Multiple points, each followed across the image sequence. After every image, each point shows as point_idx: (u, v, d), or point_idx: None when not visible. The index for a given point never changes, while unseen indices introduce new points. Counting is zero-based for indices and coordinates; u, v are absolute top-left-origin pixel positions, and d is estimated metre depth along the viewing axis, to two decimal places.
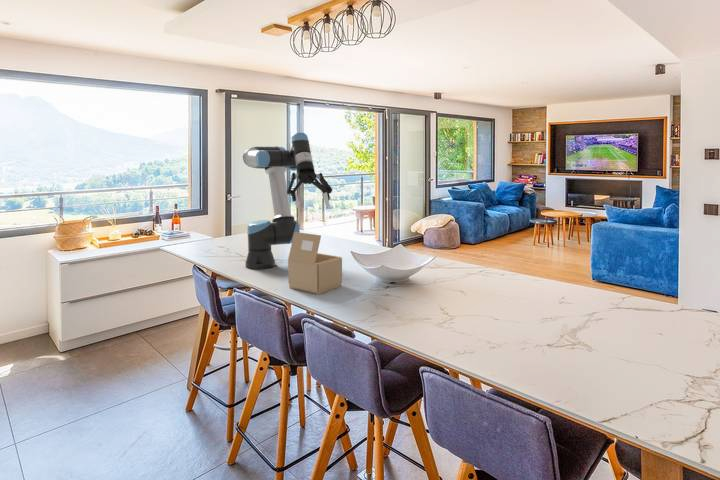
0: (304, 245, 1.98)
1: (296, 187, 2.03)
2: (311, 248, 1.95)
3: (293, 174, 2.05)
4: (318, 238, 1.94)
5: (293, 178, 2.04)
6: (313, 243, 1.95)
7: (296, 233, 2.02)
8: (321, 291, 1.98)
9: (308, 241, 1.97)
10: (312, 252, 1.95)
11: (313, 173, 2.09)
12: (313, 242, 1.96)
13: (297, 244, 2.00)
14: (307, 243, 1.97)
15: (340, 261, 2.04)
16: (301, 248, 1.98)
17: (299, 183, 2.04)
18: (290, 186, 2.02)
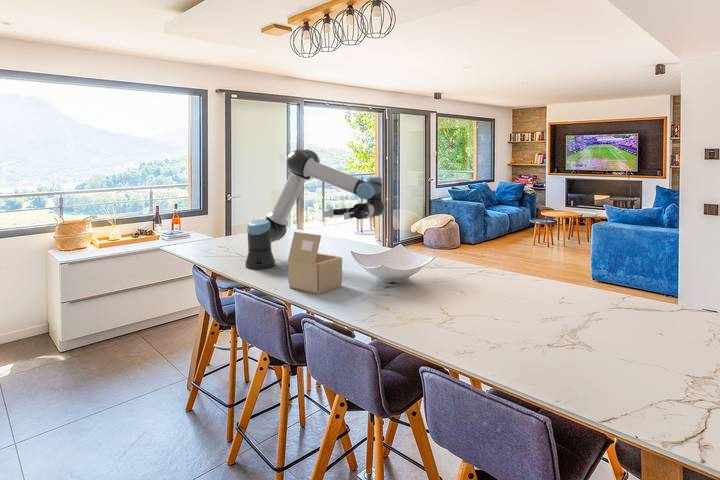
0: (304, 245, 1.98)
1: None
2: (311, 248, 1.95)
3: (366, 215, 2.20)
4: (318, 238, 1.94)
5: (363, 216, 2.19)
6: (313, 243, 1.95)
7: (296, 233, 2.02)
8: (321, 291, 1.98)
9: (308, 241, 1.97)
10: (312, 252, 1.95)
11: None
12: (313, 242, 1.96)
13: (297, 244, 2.00)
14: (307, 243, 1.97)
15: (340, 261, 2.04)
16: (301, 248, 1.98)
17: None
18: None
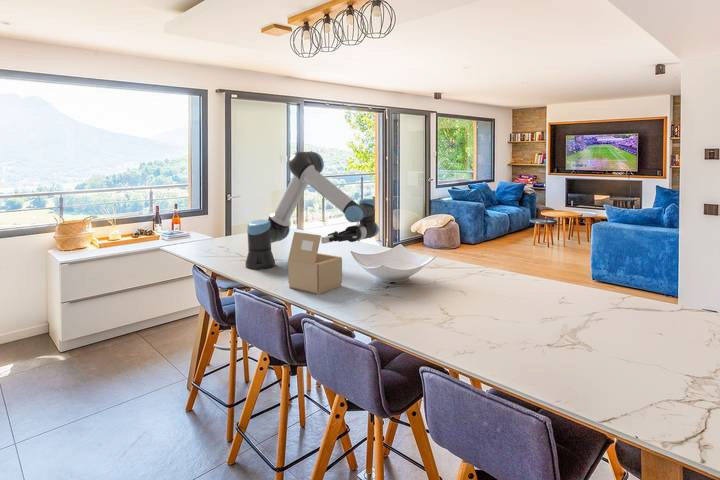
0: (304, 245, 1.98)
1: None
2: (311, 248, 1.95)
3: None
4: (318, 238, 1.94)
5: None
6: (313, 243, 1.95)
7: (296, 233, 2.02)
8: (321, 291, 1.98)
9: (308, 241, 1.97)
10: (312, 252, 1.95)
11: None
12: (313, 242, 1.96)
13: (297, 244, 2.00)
14: (307, 243, 1.97)
15: (340, 261, 2.04)
16: (301, 248, 1.98)
17: None
18: None
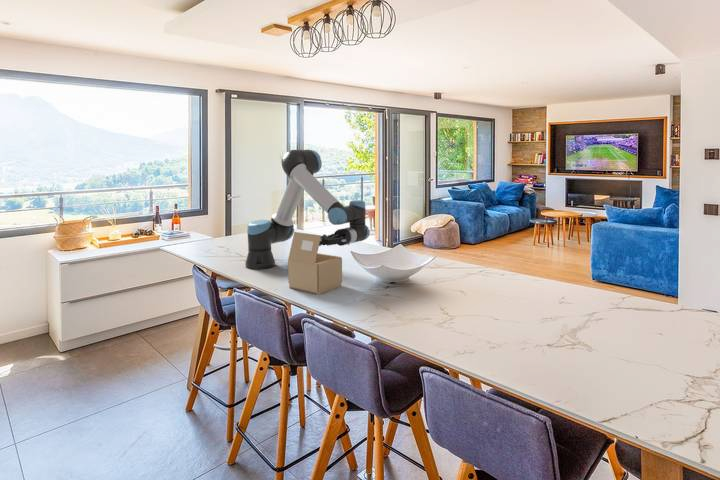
0: (304, 245, 1.98)
1: None
2: (311, 248, 1.95)
3: (343, 243, 2.07)
4: (318, 238, 1.94)
5: None
6: (313, 243, 1.95)
7: (296, 233, 2.02)
8: (321, 291, 1.98)
9: (308, 241, 1.97)
10: (312, 252, 1.95)
11: None
12: (313, 242, 1.96)
13: (297, 244, 2.00)
14: (307, 243, 1.97)
15: (340, 261, 2.04)
16: (301, 248, 1.98)
17: None
18: None
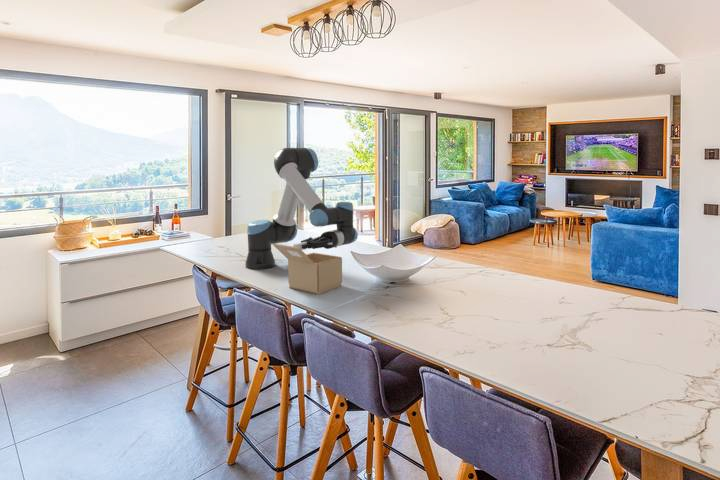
0: (292, 253, 1.92)
1: None
2: (300, 255, 1.91)
3: (330, 246, 2.00)
4: (299, 250, 1.86)
5: None
6: (298, 252, 1.89)
7: (275, 245, 1.93)
8: (321, 291, 1.98)
9: (292, 251, 1.90)
10: (304, 257, 1.91)
11: None
12: (297, 252, 1.89)
13: (285, 252, 1.95)
14: (293, 252, 1.91)
15: (340, 261, 2.04)
16: (292, 254, 1.94)
17: None
18: None
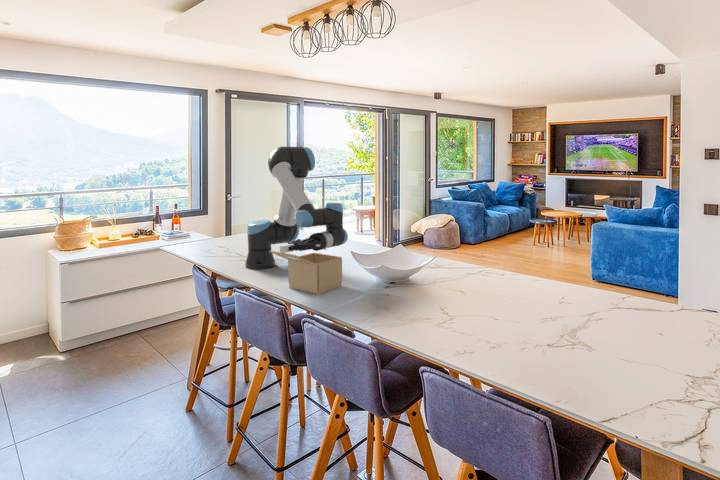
0: (290, 257, 1.92)
1: None
2: (299, 259, 1.90)
3: (318, 248, 1.96)
4: (296, 257, 1.85)
5: None
6: (296, 258, 1.88)
7: (272, 252, 1.92)
8: (321, 291, 1.98)
9: (290, 257, 1.90)
10: (303, 260, 1.91)
11: None
12: (294, 257, 1.88)
13: (283, 256, 1.95)
14: (291, 257, 1.90)
15: (340, 261, 2.04)
16: (290, 258, 1.94)
17: None
18: None
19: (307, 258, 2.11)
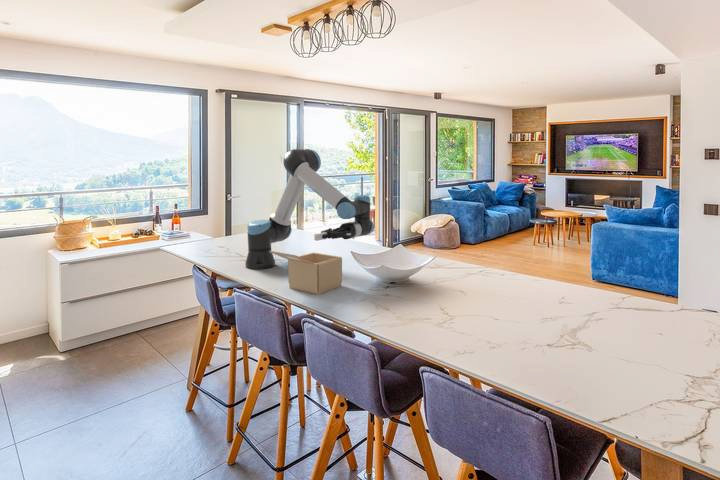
0: (290, 257, 1.92)
1: None
2: (299, 259, 1.90)
3: (348, 236, 2.12)
4: (296, 257, 1.85)
5: None
6: (296, 258, 1.88)
7: (272, 252, 1.92)
8: (321, 291, 1.98)
9: (290, 257, 1.90)
10: (303, 261, 1.91)
11: None
12: (294, 257, 1.88)
13: (283, 256, 1.95)
14: (291, 257, 1.90)
15: (340, 261, 2.04)
16: (290, 258, 1.94)
17: None
18: None
19: (307, 258, 2.11)
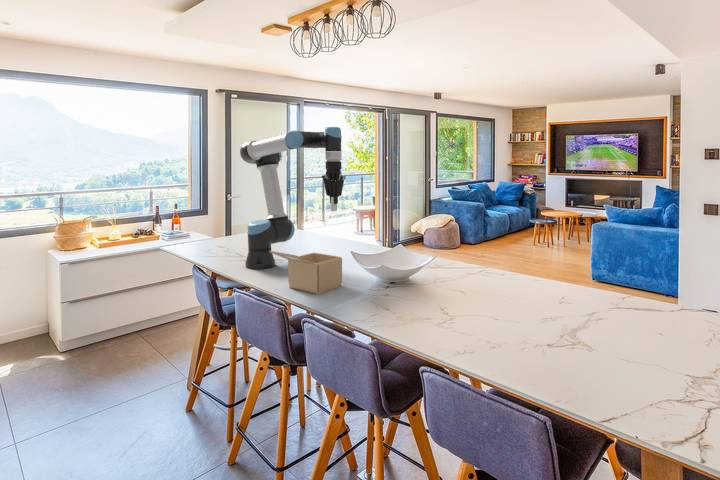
0: (290, 257, 1.92)
1: (330, 190, 2.25)
2: (299, 259, 1.90)
3: (322, 177, 2.26)
4: (296, 257, 1.85)
5: (324, 181, 2.26)
6: (296, 258, 1.88)
7: (272, 252, 1.92)
8: (321, 291, 1.98)
9: (290, 257, 1.90)
10: (303, 261, 1.91)
11: (337, 172, 2.21)
12: (294, 257, 1.88)
13: (283, 256, 1.95)
14: (291, 257, 1.90)
15: (340, 261, 2.04)
16: (290, 258, 1.94)
17: (330, 185, 2.24)
18: (326, 190, 2.26)
19: (307, 258, 2.11)
